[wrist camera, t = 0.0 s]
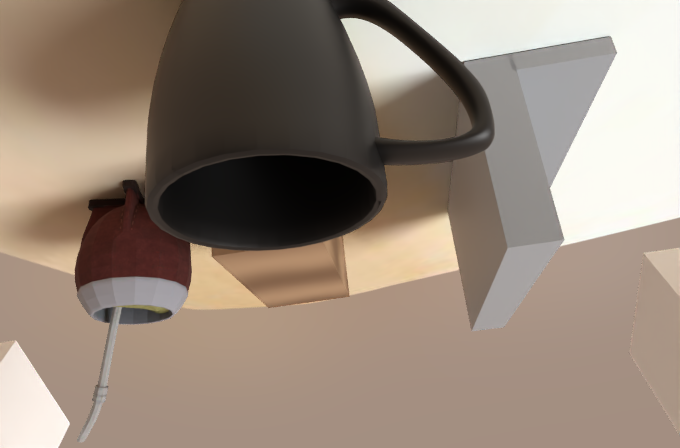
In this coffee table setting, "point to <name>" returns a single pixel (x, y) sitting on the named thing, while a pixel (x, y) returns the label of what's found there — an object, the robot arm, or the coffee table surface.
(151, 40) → the coffee table surface
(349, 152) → the mug
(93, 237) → the mate gourd
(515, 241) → the backstop board
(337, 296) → the tan block with ledge
